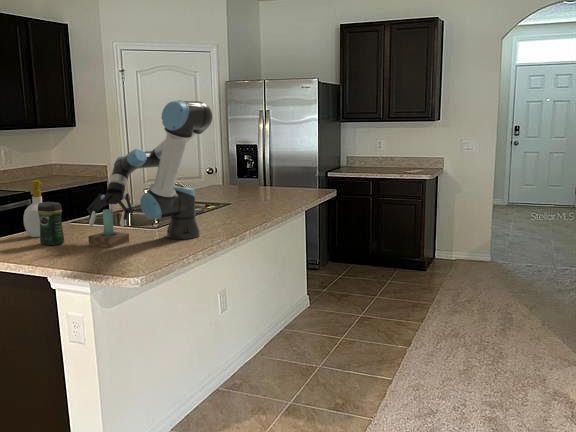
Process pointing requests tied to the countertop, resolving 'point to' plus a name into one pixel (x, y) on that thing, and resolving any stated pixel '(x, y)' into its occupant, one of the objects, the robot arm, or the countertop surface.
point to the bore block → (108, 239)
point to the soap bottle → (33, 212)
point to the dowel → (108, 222)
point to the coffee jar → (50, 223)
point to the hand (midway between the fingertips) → (106, 225)
